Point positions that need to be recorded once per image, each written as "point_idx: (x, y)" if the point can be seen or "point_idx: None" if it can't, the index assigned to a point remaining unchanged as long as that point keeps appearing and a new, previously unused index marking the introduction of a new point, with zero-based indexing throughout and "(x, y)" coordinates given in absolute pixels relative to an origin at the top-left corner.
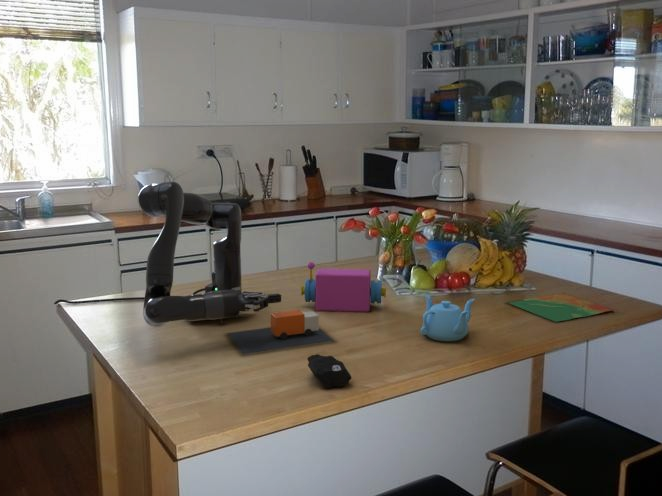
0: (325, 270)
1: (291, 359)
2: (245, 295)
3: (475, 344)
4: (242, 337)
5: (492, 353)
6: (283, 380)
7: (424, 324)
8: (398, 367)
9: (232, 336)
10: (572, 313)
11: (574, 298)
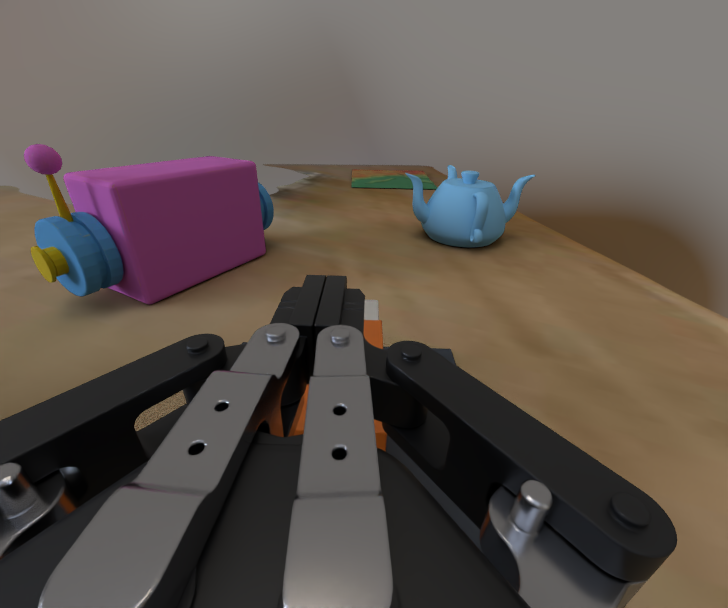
0: (106, 172)
1: None
2: (183, 569)
3: (508, 231)
4: None
5: (552, 232)
6: None
7: (481, 223)
8: (657, 315)
9: None
10: None
11: (374, 171)
